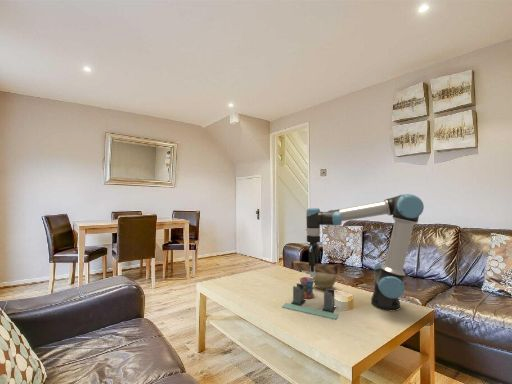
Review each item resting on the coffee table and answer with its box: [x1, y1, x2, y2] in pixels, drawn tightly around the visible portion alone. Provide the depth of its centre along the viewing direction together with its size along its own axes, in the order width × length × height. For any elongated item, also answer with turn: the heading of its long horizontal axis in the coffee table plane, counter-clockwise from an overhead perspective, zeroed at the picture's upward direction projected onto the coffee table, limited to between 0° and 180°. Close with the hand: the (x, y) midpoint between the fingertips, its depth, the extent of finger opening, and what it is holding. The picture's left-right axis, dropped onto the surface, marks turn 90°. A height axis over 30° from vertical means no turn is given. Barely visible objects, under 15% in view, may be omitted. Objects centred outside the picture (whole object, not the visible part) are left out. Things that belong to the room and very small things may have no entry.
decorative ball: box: [312, 272, 336, 290], centre depth 179 cm, size 15×15×15 cm
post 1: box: [290, 282, 307, 306], centre depth 155 cm, size 6×9×10 cm, turn 151°
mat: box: [281, 302, 339, 320], centre depth 144 cm, size 30×6×1 cm, turn 61°
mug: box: [299, 276, 317, 299], centre depth 166 cm, size 12×9×11 cm
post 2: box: [321, 288, 337, 313], centre depth 147 cm, size 6×9×10 cm, turn 151°
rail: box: [291, 260, 339, 276], centre depth 151 cm, size 26×4×4 cm, turn 61°
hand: (313, 276), depth 151 cm, fingers closed on rail, 3 cm apart
